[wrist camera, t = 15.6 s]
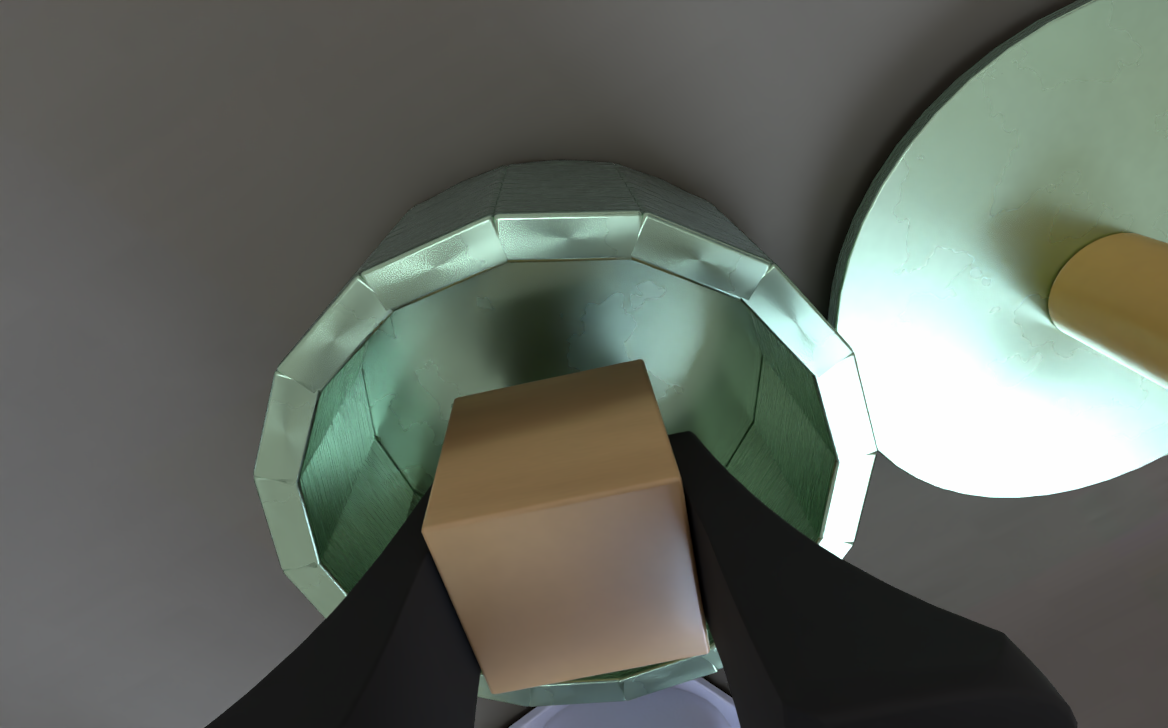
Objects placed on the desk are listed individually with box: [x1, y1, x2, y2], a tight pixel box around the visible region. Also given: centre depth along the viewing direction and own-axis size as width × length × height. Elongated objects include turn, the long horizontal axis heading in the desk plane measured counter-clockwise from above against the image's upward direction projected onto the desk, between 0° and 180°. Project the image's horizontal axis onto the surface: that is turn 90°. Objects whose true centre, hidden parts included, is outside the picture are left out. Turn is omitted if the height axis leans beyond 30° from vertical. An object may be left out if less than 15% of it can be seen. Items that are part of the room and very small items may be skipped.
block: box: [421, 359, 710, 694], centre depth 12 cm, size 4×4×4 cm
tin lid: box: [828, 0, 1168, 498], centre depth 14 cm, size 13×13×4 cm
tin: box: [253, 160, 878, 707], centre depth 14 cm, size 12×12×5 cm
